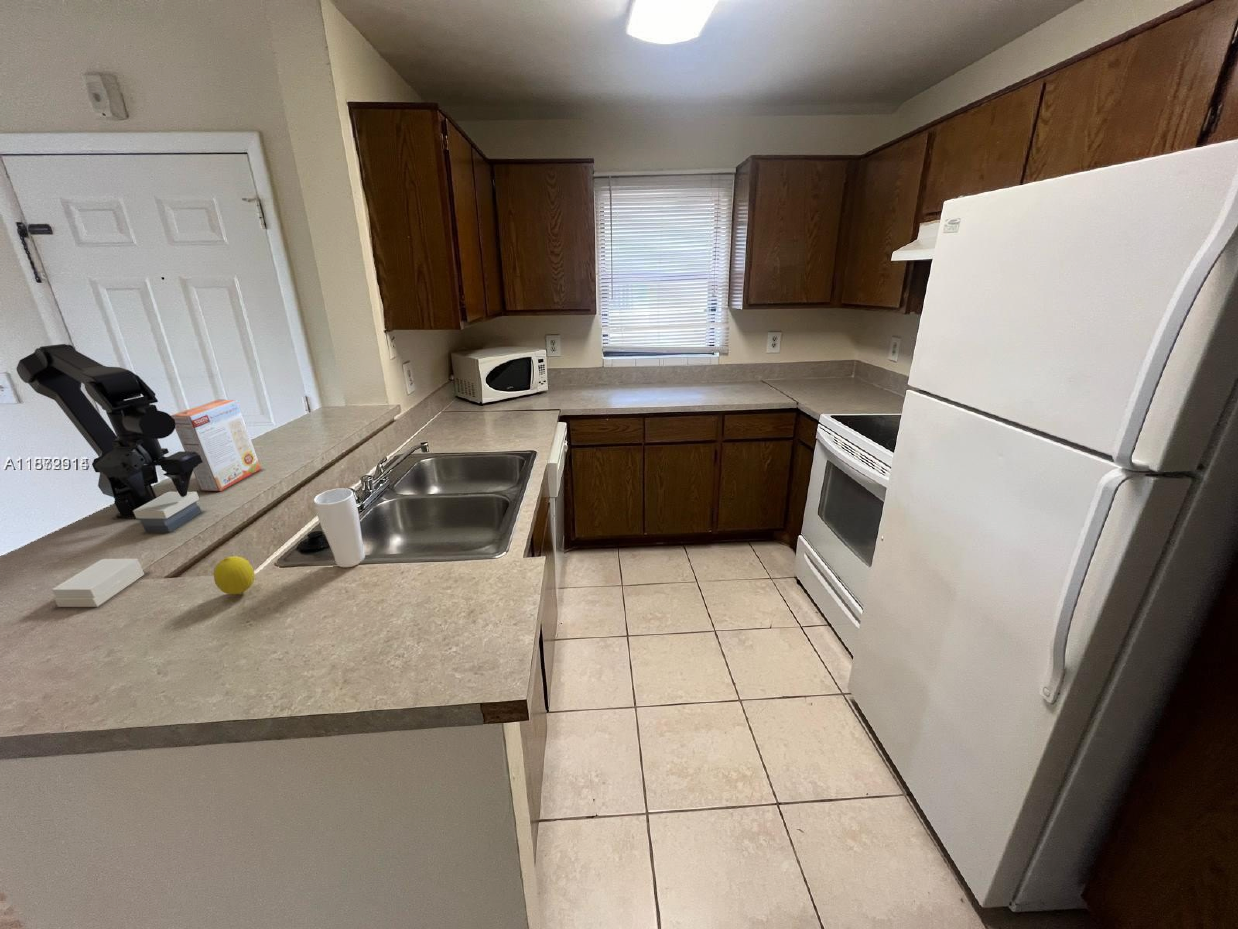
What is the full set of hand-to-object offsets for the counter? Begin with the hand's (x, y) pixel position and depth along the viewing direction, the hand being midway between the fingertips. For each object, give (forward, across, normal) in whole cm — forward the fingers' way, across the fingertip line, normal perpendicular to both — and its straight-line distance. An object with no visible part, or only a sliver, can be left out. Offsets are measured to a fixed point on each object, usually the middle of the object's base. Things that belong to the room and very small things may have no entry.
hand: (163, 496), depth 106 cm
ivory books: (+7, +7, -24) cm, 26 cm away
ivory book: (+3, 0, 0) cm, 3 cm away
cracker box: (+7, -3, +22) cm, 23 cm away
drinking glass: (+7, +48, -15) cm, 51 cm away
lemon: (+7, +33, -25) cm, 42 cm away
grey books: (+7, 0, 0) cm, 7 cm away
